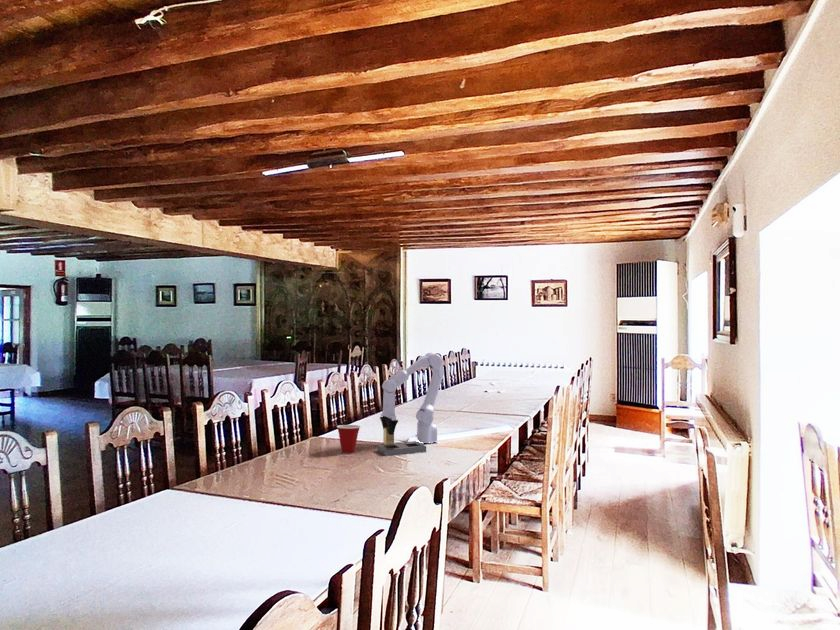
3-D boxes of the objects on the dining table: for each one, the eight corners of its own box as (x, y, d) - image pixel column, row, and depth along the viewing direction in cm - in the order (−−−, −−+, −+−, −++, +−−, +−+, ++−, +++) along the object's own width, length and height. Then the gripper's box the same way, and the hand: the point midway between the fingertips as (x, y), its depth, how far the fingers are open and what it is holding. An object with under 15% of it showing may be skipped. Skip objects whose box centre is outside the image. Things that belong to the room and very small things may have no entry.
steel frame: (417, 447, 256) (417, 441, 256) (426, 451, 247) (426, 446, 247) (377, 450, 248) (377, 445, 248) (384, 455, 239) (384, 450, 239)
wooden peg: (391, 443, 263) (391, 426, 264) (393, 445, 260) (394, 428, 260) (383, 444, 262) (383, 427, 262) (386, 445, 258) (386, 429, 258)
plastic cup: (362, 449, 251) (362, 423, 251) (357, 455, 240) (357, 428, 240) (339, 448, 252) (339, 422, 252) (333, 454, 241) (333, 427, 241)
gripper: (376, 402, 266) (375, 430, 266) (386, 407, 253) (385, 436, 253) (389, 402, 269) (389, 429, 269) (400, 406, 256) (399, 435, 255)
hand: (388, 432), depth 261 cm, fingers open, 7 cm apart
